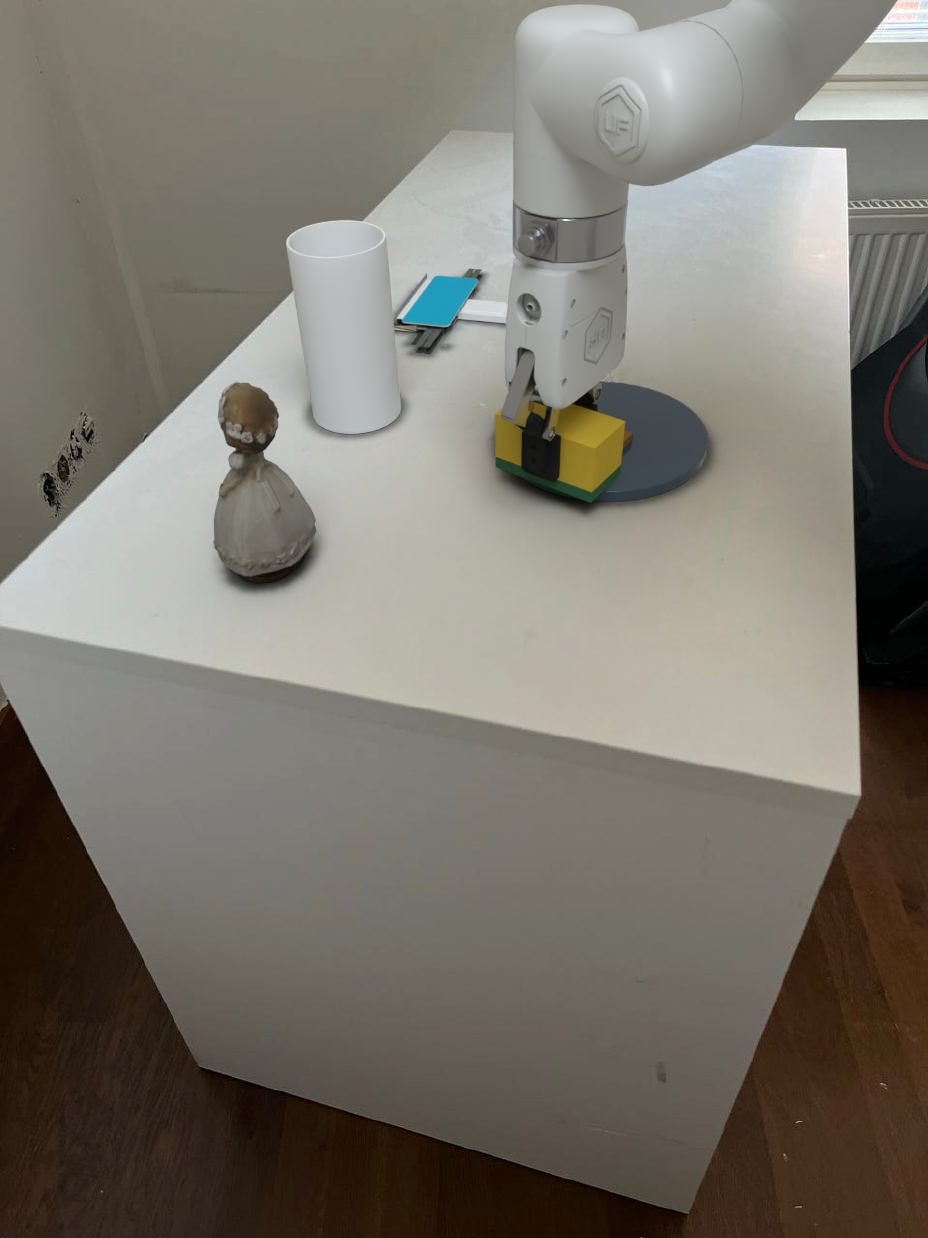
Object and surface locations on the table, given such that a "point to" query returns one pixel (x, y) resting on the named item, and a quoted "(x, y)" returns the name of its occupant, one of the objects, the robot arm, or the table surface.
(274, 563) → the figurine
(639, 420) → the plate
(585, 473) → the sponge
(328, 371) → the cup
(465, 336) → the table surface
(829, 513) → the table surface
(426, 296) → the phone stand
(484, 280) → the table surface
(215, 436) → the table surface
